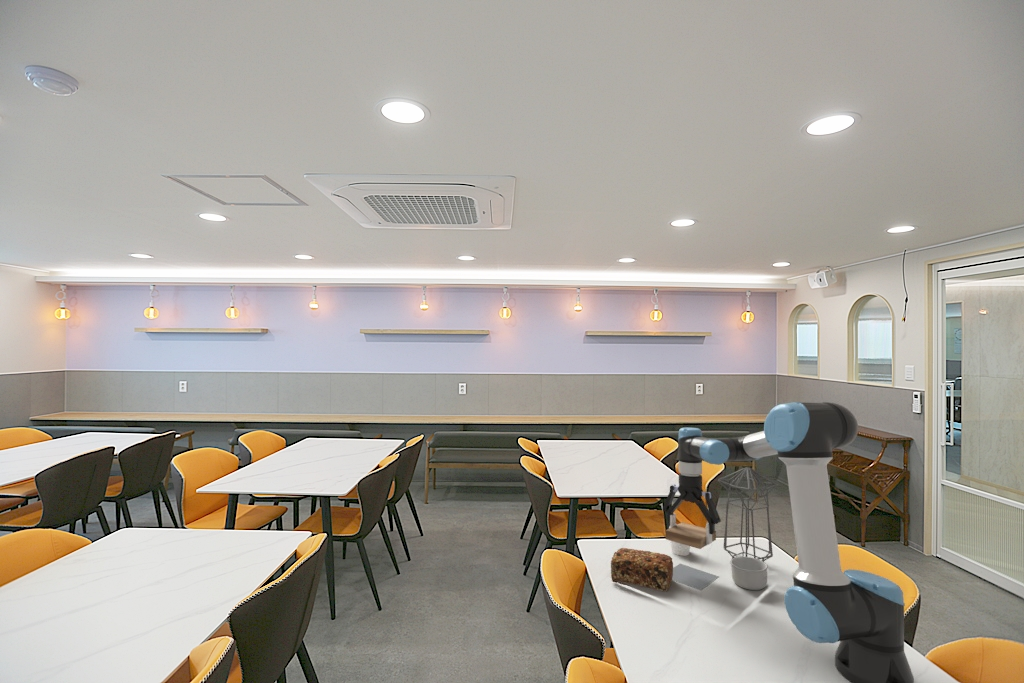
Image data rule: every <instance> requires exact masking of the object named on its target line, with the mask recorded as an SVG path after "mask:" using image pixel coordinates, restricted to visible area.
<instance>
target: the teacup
mask: <svg viewBox="0 0 1024 683" xmlns="http://www.w3.org/2000/svg"><path fill="white" fill-rule="evenodd" d="M734 557H735V558H733V559H732V558H731V560H730V566H731V568H730V570H731V577H732V580H733V582H734V583H735V585H737V586H738V587H740V588H742V589H746V590H750V591H760V590H763V589H764V588H766V586H767V584H768V565H767V564H766V562H765V561H764V562H763V561H761V560H762V559H760V560H759V559H755V558H754V557H752V556H747V557H746V556H744V557H742V554H739V555H736V556H734Z"/></svg>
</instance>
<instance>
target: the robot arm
mask: <svg viewBox="0 0 1024 683" xmlns="http://www.w3.org/2000/svg"><path fill="white" fill-rule="evenodd" d="M702 432H703V431H702V430H701V429H700V428H698V427H686V426H685V427H681V428H680V429H679V430H678V438H677V442H678V444H677V445H678V448H677V449H678V450H677V451H678V472H679V474H678V486H677V485H676V484H672V485H669V492H668V495H667V497H666V500H665V502H664V504H663V506H662V511H663V512H666V513H667V523H668V524H669V526H670V528H671V527H673V526H675V525H676V524H677V514H676V513H675V512H676V510H677V509H678V507H679V506H680V505H681V504H682V503H683V502H689V503H692V504H694V503H695V506H697V507H698V508H699V510H700V512H701V513H702V514H703V516H704V518H705V519H706V524H705V525H706V526H705V528H706V544H708V545H710V544H712V543H713V542H712V534H714V533H715V531H716V527H715V526H716V525H717V524H719V523H721V522H722V520H721V517H720V515H719V513H718V510H717V508H716V505H715V502H714V500H713V493H712V491H708V492H707V491H703V476H702V474H703V462H705V463H708V464H710V465H718V466H719V465H720V466H721V465H723V464H724V463H726V462H741V461H742V462H744V461H745V462H746V461H748V462H753V461H758V460H760V459H761V458H764V457H769V456H775V455H777V457H778V458H777V459H779V460H780V461H781V462H782V463H784V465H785V467H786V475H787V482H788V483H787V484H788V492H789V499H790V506H791V514H792V522H793V523H792V524H793V531H794V538H795V546H796V553H797V562H798V567H797V569H796V570H794V572H793V573H792V579H793V586H790V587H789V588H787V590H786V592H785V593H784V599H783V600H784V606H785V607H784V608H785V610H786V612H787V615H788V618H789V619H790V621H791V622H792V624H793V625H794V626H795V628H796V630H797V631H798V632H799V633H800V634H801V635H803V636H804V637H805V638H806V639H808V641H811V642H813V643H817V644H818V643H819V644H826V643H828V644H837V642H839V643H838V646H837V648H836V651H835V655H834V664H835V665H834V666H835V668H836V670H837V671H838V672H839V673H840V674H841V675H842V676H843V677H844V678H846V680H848V681H849V682H851V683H915V678H914V675H913V672H912V669H911V666H910V664H909V661H908V658H907V655H906V653H905V606H906V605H905V602H904V591H903V589H902V588H901V587H900V586H899V585H898V583H896V582H894V581H892V580H890V579H889V578H886V577H884V576H880V575H878V574H876V573H872V572H869V571H865V570H860V569H859V570H858V569H854V568H853V569H852V568H851V569H845V570H844V571H842V567H841V566H842V565H841V559H840V551H839V544H838V537H837V531H836V530H837V529H836V523H835V516H834V511H833V510H834V509H833V508H834V507H833V501H832V494H831V487H830V481H829V479H830V478H829V473H828V468H827V465H828V464H829V463H830V462H831V461H832V460H833V458H834V457H833V456H834V455H833V450H835V449H841V448H844V447H847V446H849V445H850V444H852V443H853V442H854V440H855V439H856V438H857V436H858V433H859V424H858V420H857V418H856V416H855V415H854V414H853V412H852V411H851V410H850V409H849V408H847V407H845V406H844V405H841V404H839V403H836V402H827V401H823V402H798V401H797V402H796V401H795V402H787V403H785V402H784V403H780V404H778V405H775V406H774V407H773V408H771V409H770V411H769V412H768V413H767V415H766V417H765V420H764V423H763V430H762V431H758V432H754V433H750V434H748V435H743V436H737V437H711V438H710V437H704V436H703V433H702ZM677 492H678V493H679V496H678V497H677V499H676V500H675V502H674V503H673V500H674V498H675V496H676V493H677ZM702 497H703V498H704V499H705V502H704V500H703V498H702ZM672 503H673V504H672ZM705 503H706V504H705ZM706 505H707V506H706ZM708 545H707V546H708Z"/></svg>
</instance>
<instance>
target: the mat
mask: <svg viewBox="0 0 1024 683" xmlns="http://www.w3.org/2000/svg"><path fill="white" fill-rule="evenodd" d="M718 578H720V576H718V575H716V574H713V573H710V572H706V571H704V570H700V569H697V568H694V567H692V566H688V565H686V564H682V563H679V564H678V565H675V566H673V577H672V581H674V582H675V583H676V582H678V583H680V584H683V585H685V586H688V587H691V588H693V589H695V590H699V591H702V590H704V589H705V588H706V587H708V586H709V585H710V584H712V583H713V582H714V581H716V580H717V579H718Z"/></svg>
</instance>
